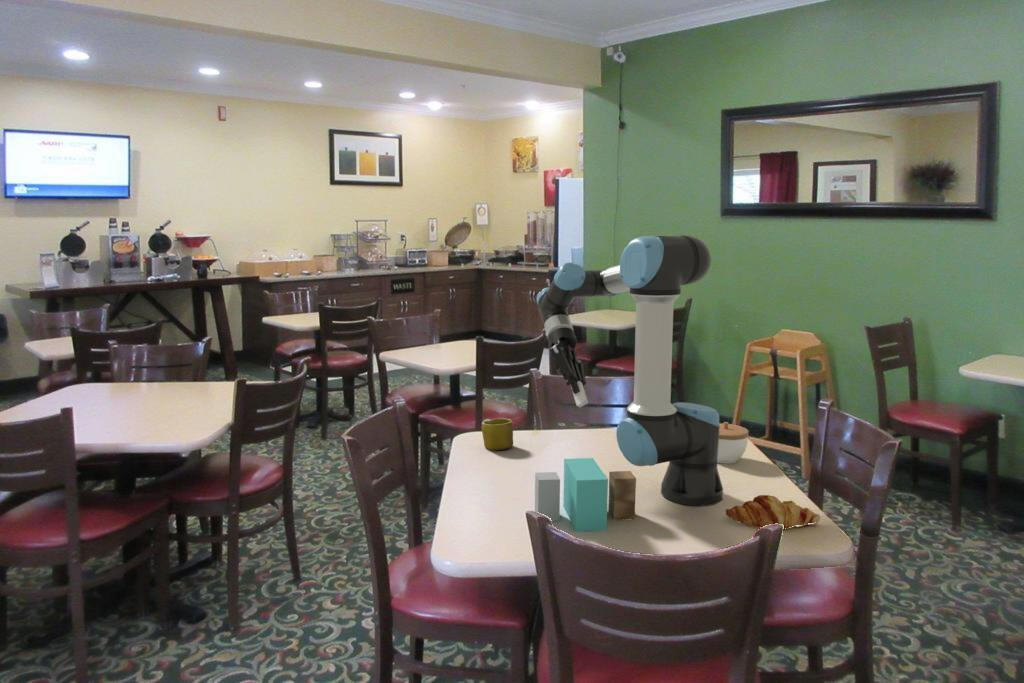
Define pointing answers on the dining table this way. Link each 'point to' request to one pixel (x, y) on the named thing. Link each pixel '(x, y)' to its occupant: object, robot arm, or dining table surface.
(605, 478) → the teal block
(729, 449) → the lidded bowl
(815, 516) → the croissant
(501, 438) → the mug
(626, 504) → the walnut block
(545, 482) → the grey block
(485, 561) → the dining table surface
